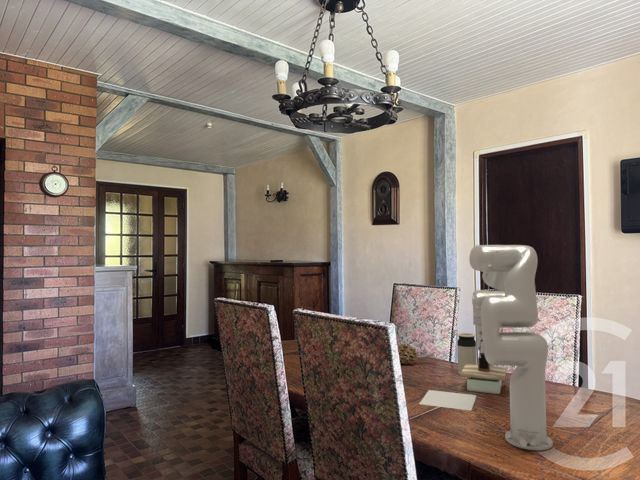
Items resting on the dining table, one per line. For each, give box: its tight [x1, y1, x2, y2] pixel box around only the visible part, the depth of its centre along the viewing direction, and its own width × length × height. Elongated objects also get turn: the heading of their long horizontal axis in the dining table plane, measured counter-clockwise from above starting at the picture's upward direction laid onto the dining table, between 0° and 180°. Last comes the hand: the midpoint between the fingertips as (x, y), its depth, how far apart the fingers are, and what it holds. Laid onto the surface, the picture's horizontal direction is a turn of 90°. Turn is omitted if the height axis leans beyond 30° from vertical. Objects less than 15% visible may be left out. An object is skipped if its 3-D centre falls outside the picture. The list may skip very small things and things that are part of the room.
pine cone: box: [397, 343, 436, 365], centre depth 226 cm, size 22×10×10 cm, turn 90°
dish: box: [466, 377, 502, 395], centre depth 184 cm, size 12×12×5 cm
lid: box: [460, 355, 507, 381], centre depth 184 cm, size 16×16×6 cm
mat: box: [418, 389, 477, 412], centre depth 170 cm, size 18×18×1 cm
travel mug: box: [456, 332, 477, 376], centre depth 206 cm, size 8×8×18 cm
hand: (484, 366), depth 184 cm, fingers closed on lid, 4 cm apart
